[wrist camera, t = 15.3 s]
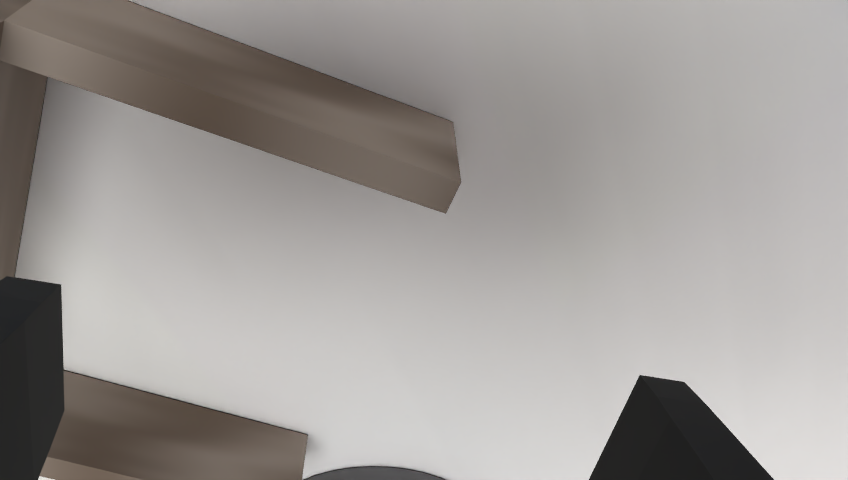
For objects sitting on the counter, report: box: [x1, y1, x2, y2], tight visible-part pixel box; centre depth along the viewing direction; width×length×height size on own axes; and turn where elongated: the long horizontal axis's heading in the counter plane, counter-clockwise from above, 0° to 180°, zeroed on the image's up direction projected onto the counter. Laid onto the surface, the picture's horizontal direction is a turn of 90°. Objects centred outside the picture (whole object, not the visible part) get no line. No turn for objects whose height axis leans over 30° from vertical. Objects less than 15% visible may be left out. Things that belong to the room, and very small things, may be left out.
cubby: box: [0, 0, 461, 480], centre depth 18 cm, size 10×12×6 cm
